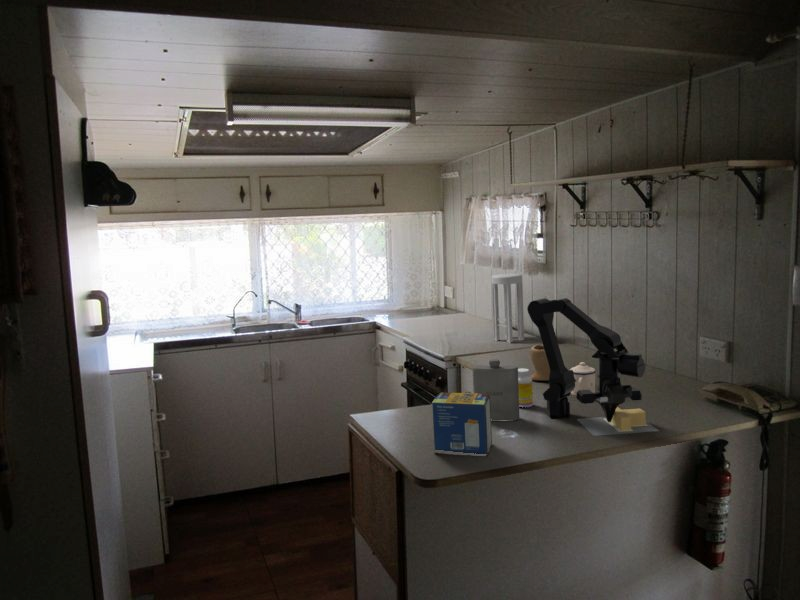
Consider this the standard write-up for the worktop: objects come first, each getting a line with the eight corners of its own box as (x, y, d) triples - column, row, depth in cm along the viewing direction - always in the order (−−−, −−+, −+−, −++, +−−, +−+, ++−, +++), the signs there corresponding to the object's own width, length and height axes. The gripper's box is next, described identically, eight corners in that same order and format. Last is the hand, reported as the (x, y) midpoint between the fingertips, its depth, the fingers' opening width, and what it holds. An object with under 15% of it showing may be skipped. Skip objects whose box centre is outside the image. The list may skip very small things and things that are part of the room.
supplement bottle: (536, 406, 220) (535, 370, 218) (519, 409, 218) (518, 373, 216) (527, 401, 226) (526, 366, 225) (510, 404, 225) (509, 369, 223)
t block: (621, 430, 191) (621, 417, 191) (607, 419, 202) (607, 407, 202) (650, 428, 192) (650, 415, 191) (635, 417, 202) (635, 405, 202)
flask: (472, 420, 209) (470, 361, 207) (475, 415, 215) (473, 357, 212) (518, 422, 205) (516, 362, 202) (520, 416, 210) (518, 358, 208)
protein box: (441, 441, 192) (439, 391, 190) (492, 444, 187) (490, 393, 185) (433, 454, 182) (431, 402, 180) (487, 457, 177) (484, 403, 175)
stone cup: (526, 383, 251) (525, 346, 249) (533, 375, 261) (532, 340, 259) (565, 385, 244) (564, 347, 242) (571, 378, 255) (570, 341, 253)
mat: (593, 436, 188) (593, 435, 188) (576, 419, 204) (576, 418, 204) (659, 431, 189) (659, 430, 189) (636, 415, 205) (636, 414, 205)
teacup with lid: (572, 389, 239) (571, 359, 237) (597, 390, 235) (596, 360, 234) (567, 398, 228) (566, 366, 226) (593, 400, 224) (593, 367, 223)
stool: (507, 336, 347) (505, 273, 342) (529, 339, 335) (527, 274, 330) (488, 341, 338) (485, 275, 333) (510, 344, 325) (507, 277, 321)
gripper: (587, 381, 186) (588, 432, 188) (650, 377, 187) (649, 428, 189) (575, 372, 197) (576, 420, 199) (634, 368, 198) (634, 417, 200)
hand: (609, 421), depth 196 cm, fingers closed
